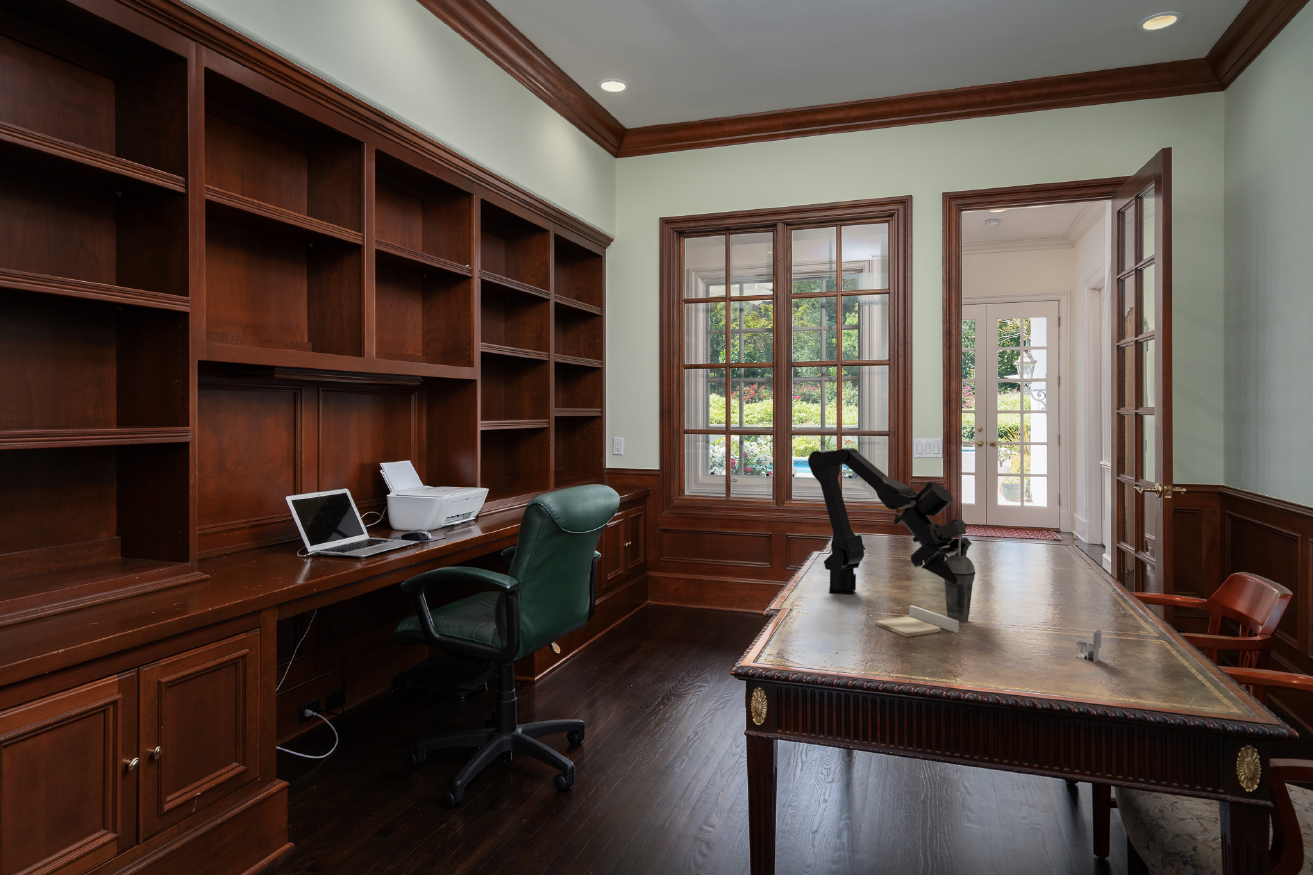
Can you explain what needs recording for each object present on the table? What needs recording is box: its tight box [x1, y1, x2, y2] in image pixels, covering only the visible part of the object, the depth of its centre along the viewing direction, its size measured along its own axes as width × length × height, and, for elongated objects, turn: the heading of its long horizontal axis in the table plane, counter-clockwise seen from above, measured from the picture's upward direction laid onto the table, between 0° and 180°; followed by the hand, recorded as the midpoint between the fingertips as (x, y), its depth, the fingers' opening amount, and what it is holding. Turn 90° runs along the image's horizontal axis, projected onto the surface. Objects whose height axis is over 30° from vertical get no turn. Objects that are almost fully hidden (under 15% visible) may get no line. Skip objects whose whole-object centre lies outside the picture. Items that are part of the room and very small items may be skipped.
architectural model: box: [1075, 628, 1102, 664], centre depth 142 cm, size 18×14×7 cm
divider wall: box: [908, 605, 960, 634], centre depth 166 cm, size 14×1×2 cm, turn 25°
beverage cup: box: [943, 534, 976, 624], centre depth 169 cm, size 7×7×20 cm
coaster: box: [874, 615, 942, 638], centre depth 163 cm, size 10×10×1 cm
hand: (964, 580), depth 168 cm, fingers closed on beverage cup, 7 cm apart
